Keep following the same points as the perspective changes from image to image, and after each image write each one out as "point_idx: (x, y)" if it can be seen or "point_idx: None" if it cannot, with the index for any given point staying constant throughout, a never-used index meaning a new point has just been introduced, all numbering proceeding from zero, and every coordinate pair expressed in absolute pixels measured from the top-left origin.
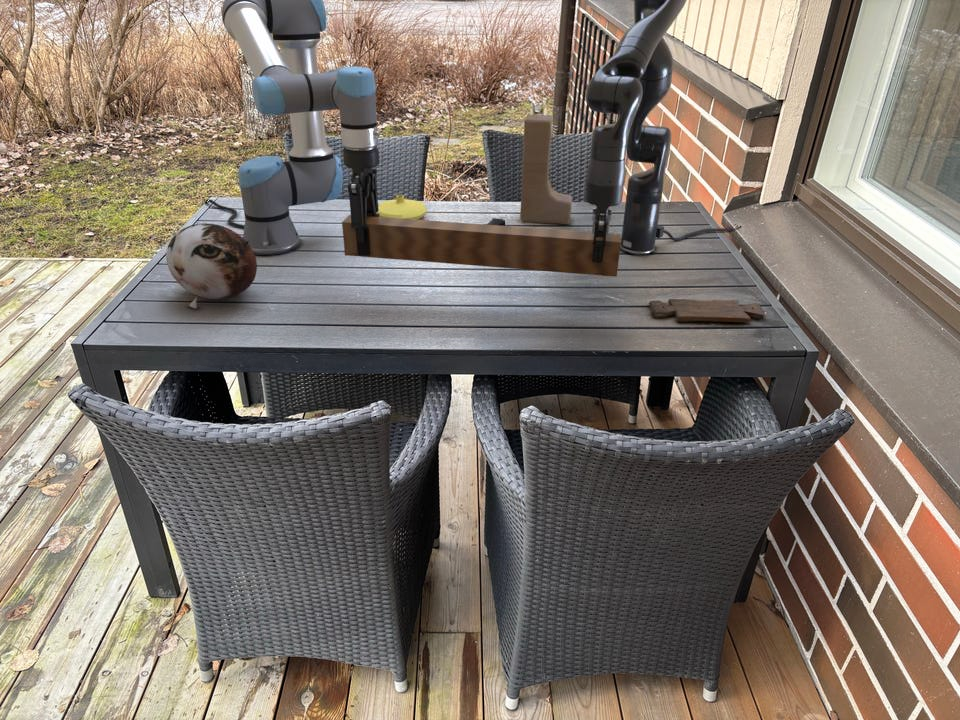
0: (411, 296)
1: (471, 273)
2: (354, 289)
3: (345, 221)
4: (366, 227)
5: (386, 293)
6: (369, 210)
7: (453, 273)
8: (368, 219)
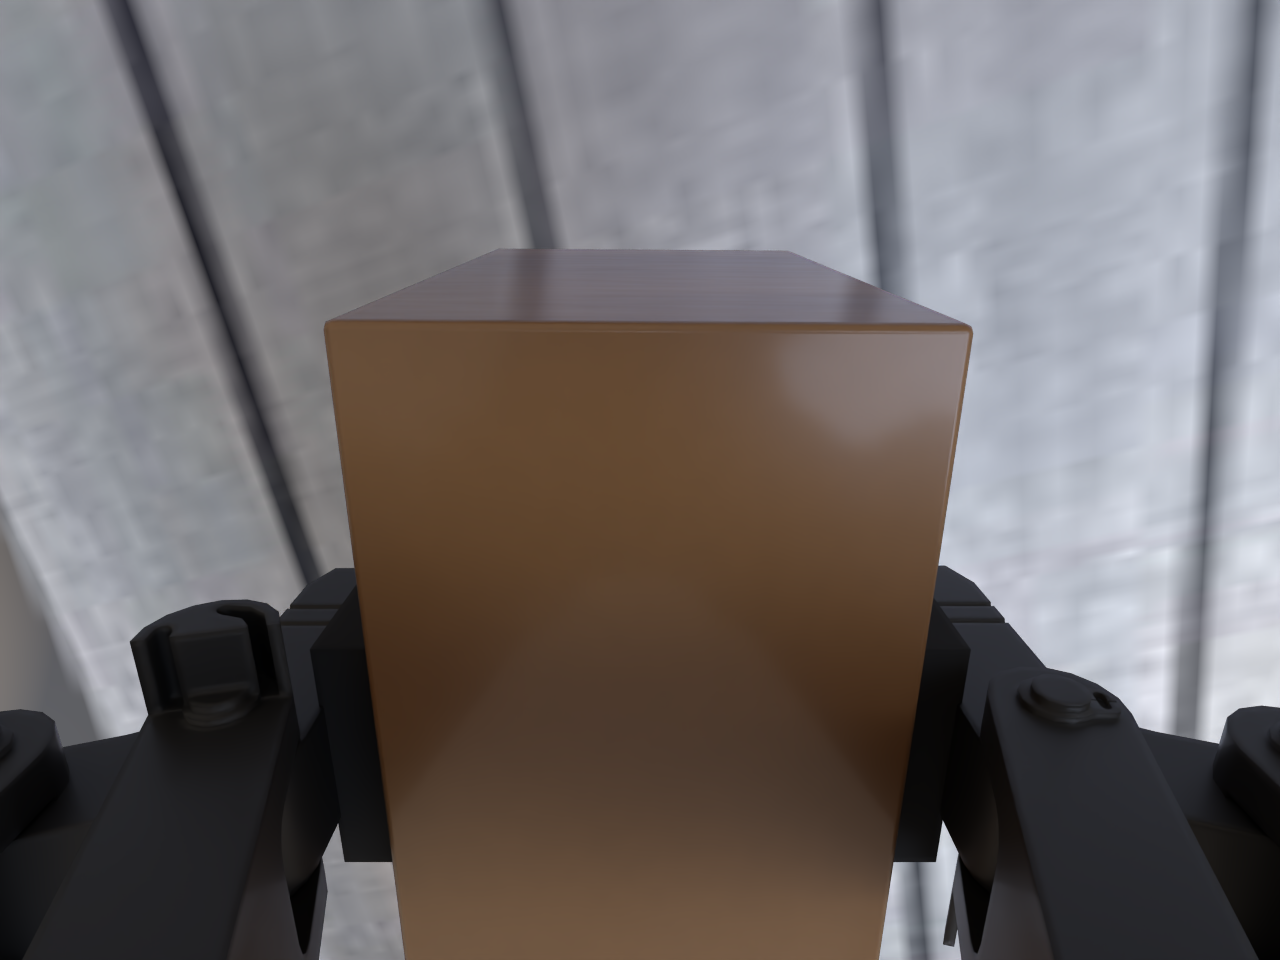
0: None
1: None
2: (798, 188)
3: (400, 401)
4: (381, 836)
5: None
6: (991, 929)
7: None
8: (676, 855)
